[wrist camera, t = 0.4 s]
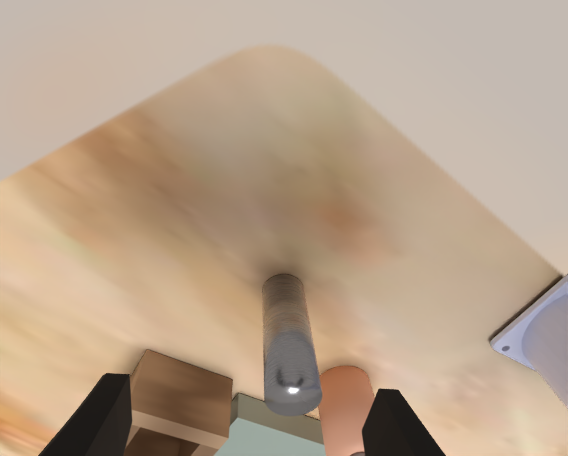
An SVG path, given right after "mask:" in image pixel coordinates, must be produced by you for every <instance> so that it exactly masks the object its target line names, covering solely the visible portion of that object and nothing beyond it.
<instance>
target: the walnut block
mask: <svg viewBox="0 0 568 456" xmlns="http://www.w3.org/2000/svg"><path fill="white" fill-rule="evenodd" d="M232 384H233V380H232V379H229V378H227V377H224V376H221V375H218V374H215V373H212V372H210V371H207V370H204V369H201V368H198V367H195V366H193V365H190V364H187V363H184V362H181V361H178V360H176V359H173V358H170V357H167V356H164V355H161V354H159V353H156V352H153V351H150V350H146V352H145V354H144V355H143V357H142V359H141V360H140V362H139V364H138V365H137V367H136V369H135V370H134V372H133V373H132V375H131V377H130V390H131V406H132V425H131V429H130V433H129V436H128V440H127V444H126V448H125V451H124V455H123V456H214V455H215V453H216V452H217V451H218V450H219V449H220V448H221V447H222V445H223V444H224V443H225V442H226V441H227V440H228V439H229V427H230V412H231V398H232Z"/></svg>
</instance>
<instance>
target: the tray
mask: <svg viewBox="0 0 568 456" xmlns="http://www.w3.org/2000/svg"><path fill="white" fill-rule="evenodd" d="M214 456H326V452H325V446H324V440H323V434H322V428H321V421H319V420H316V419H313V418H310V417H307V416H304V415H299V416H282V415H278V414H276V413H274V412H272V411H271V410H270V409H268V407H267V406H266V404H265V402H263V401H260V400H258V399H255V398H252V397H249V396H246V395H243V394H240V393H238V395H237V396H236V397H235V398H234V399H233V401H232V402H231V412H230V427H229V439H228V440H227V441H226V442H225V443H224V444H223V445H222V447H221V448H220V449H219V450H218V451H217V452H216V453H215V455H214Z"/></svg>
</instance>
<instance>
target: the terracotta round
mask: <svg viewBox="0 0 568 456" xmlns="http://www.w3.org/2000/svg"><path fill="white" fill-rule="evenodd" d="M319 378H320V383H321V389H322V400H321V402H320V404H319V405H318V409H319V415H320V421H321V428H322V434H323V440H324V446H325V452H326V456H365V452H364V445H363V438H362V428H363V426H364V423H365V421H366V418H367V416H368V414H369V411H370V409H371V406H372V404H373V402H374V399H375V397H374V394H373V391H372V387H371V384H370V381H369V378H368V376H367V374H366V373H365V372H364V371H363V370H361V369H359V368H357V367H353V366H339V367H335V368H332V369H329V370H327V371H326V372H324V373H323V374H322V375H321V376H320V377H319Z"/></svg>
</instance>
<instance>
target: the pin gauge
mask: <svg viewBox="0 0 568 456" xmlns="http://www.w3.org/2000/svg"><path fill="white" fill-rule="evenodd" d="M262 297H263V349H264V400H265V404H266V406H267V407H268V409H270V410H271V411H272V412H274V413H276V414H278V415H282V416H299V415H303V414H306V413H308V412H310V411H312V410H314V409H315V408H316V407H317V406H318V405H319V404H320V402H321V400H322V389H321V383H320V378H319V372H318V367H317V361H316V355H315V350H314V344H313V339H312V333H311V327H310V322H309V316H308V311H307V305H306V299H305V294H304V288H303V285H302V283H301V281H300V280H299V279H298V278H296V277H294V276H292V275H288V274H280V275H276V276H273V277H271V278H270V279H269V280H267V281H266V283H265V284H264V286H263V290H262Z"/></svg>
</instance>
